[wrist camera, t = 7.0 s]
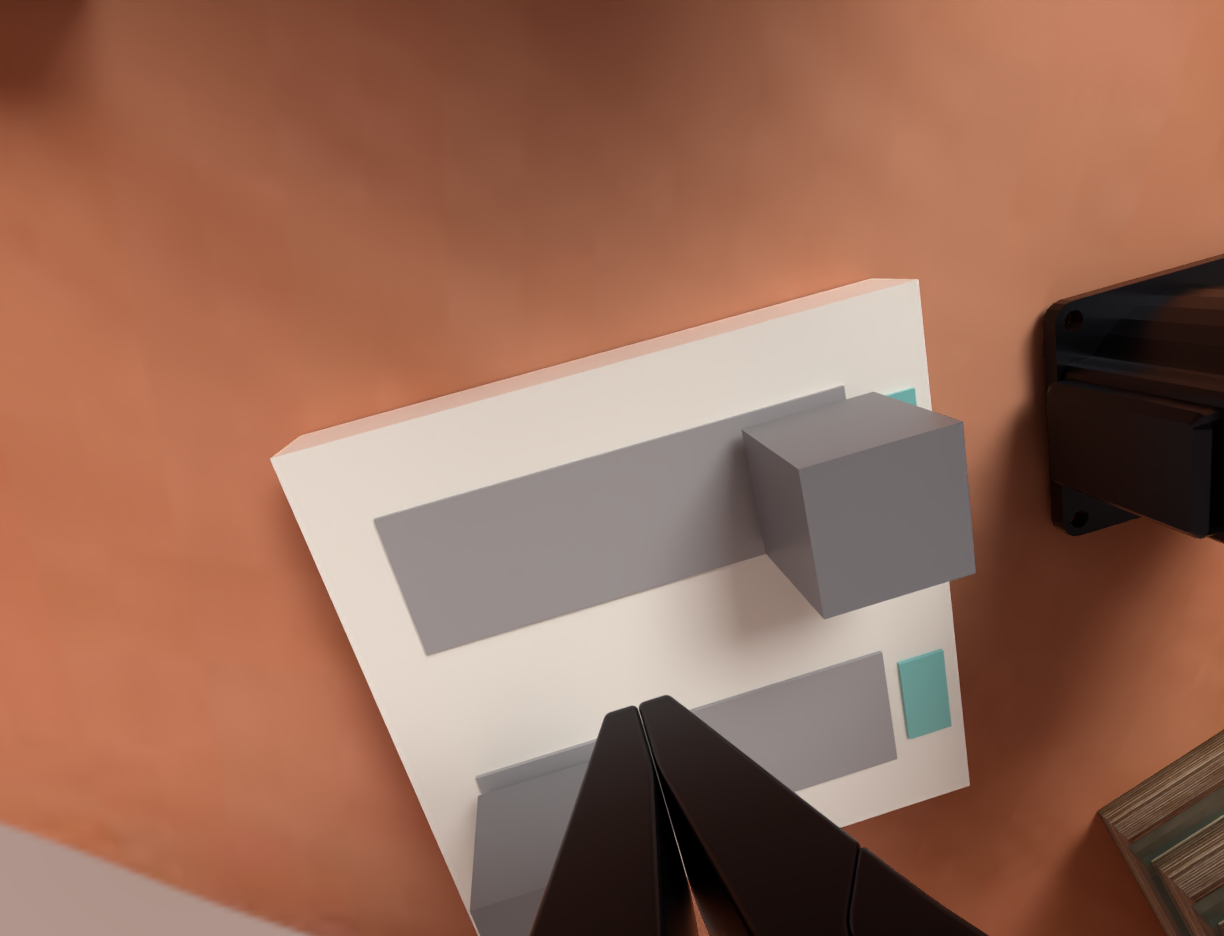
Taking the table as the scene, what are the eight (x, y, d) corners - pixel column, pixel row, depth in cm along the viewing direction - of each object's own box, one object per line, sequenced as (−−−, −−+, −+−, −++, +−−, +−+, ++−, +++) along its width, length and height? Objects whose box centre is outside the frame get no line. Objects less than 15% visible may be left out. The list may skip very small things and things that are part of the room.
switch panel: (870, 278, 16) (920, 279, 14) (927, 737, 20) (972, 788, 18) (300, 435, 15) (267, 459, 13) (485, 879, 20) (481, 948, 18)
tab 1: (599, 758, 16) (617, 863, 13) (628, 850, 17) (651, 968, 14) (477, 796, 16) (469, 911, 13) (514, 887, 17) (514, 1013, 14)
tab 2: (873, 391, 14) (962, 421, 11) (889, 516, 15) (975, 573, 12) (741, 429, 14) (798, 469, 11) (765, 553, 15) (824, 619, 12)
